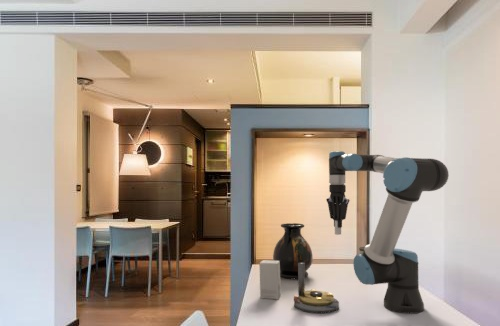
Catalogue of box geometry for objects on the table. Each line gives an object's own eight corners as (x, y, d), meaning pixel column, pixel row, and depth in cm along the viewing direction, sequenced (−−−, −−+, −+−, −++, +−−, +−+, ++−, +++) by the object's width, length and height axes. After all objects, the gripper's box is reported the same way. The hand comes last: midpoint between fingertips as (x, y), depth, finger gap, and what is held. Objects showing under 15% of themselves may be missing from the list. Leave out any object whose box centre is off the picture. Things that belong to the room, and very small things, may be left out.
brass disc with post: (329, 295, 160) (329, 259, 161) (337, 305, 146) (336, 267, 147) (296, 295, 160) (295, 259, 161) (301, 305, 146) (300, 267, 147)
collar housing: (348, 308, 150) (348, 295, 150) (314, 316, 140) (314, 302, 141) (317, 296, 165) (317, 284, 166) (284, 303, 156) (284, 290, 156)
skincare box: (280, 295, 167) (280, 260, 168) (278, 300, 161) (277, 263, 162) (262, 294, 169) (262, 259, 170) (259, 298, 163) (259, 262, 164)
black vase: (304, 283, 188) (303, 227, 189) (266, 278, 198) (266, 225, 200) (318, 274, 206) (318, 223, 208) (283, 270, 217) (283, 221, 219)
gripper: (353, 184, 173) (354, 235, 171) (333, 184, 184) (333, 232, 182) (341, 184, 169) (342, 236, 167) (321, 184, 180) (322, 233, 178)
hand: (338, 234), depth 175 cm, fingers closed
